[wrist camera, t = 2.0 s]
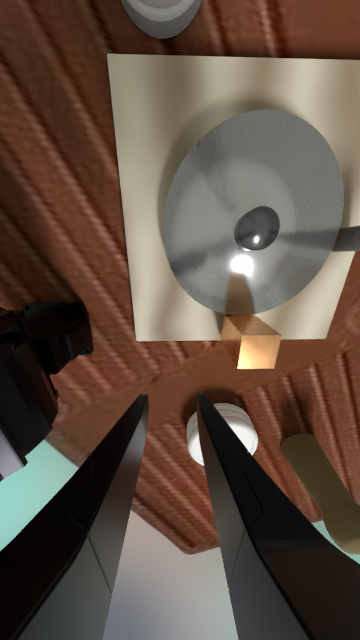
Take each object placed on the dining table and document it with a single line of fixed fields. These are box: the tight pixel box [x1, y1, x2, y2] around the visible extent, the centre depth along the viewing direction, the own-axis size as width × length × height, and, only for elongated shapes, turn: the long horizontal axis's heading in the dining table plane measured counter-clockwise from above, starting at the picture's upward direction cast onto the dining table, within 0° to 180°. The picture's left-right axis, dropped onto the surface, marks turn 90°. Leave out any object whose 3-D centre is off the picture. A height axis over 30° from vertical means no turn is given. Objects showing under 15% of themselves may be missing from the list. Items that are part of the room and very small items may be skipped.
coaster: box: [187, 403, 258, 466], centre depth 25 cm, size 10×10×4 cm
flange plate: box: [163, 110, 344, 369], centre depth 13 cm, size 18×15×6 cm
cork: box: [280, 433, 360, 554], centre depth 24 cm, size 6×6×11 cm
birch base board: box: [107, 54, 360, 341], centre depth 14 cm, size 22×22×6 cm
